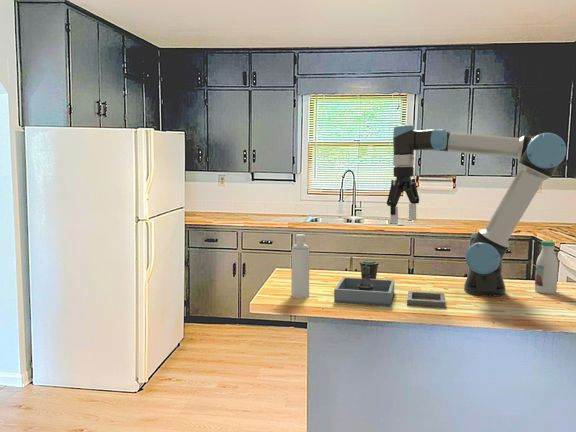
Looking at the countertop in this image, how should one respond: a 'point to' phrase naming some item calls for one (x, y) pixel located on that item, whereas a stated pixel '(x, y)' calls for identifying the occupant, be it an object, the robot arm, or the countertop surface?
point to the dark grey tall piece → (365, 279)
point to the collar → (426, 302)
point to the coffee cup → (372, 265)
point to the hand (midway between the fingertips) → (403, 221)
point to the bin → (364, 292)
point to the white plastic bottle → (300, 268)
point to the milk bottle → (546, 269)
